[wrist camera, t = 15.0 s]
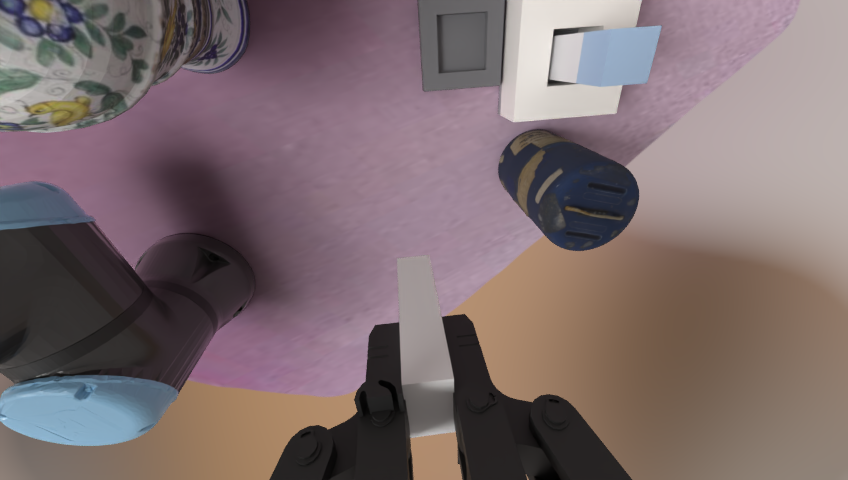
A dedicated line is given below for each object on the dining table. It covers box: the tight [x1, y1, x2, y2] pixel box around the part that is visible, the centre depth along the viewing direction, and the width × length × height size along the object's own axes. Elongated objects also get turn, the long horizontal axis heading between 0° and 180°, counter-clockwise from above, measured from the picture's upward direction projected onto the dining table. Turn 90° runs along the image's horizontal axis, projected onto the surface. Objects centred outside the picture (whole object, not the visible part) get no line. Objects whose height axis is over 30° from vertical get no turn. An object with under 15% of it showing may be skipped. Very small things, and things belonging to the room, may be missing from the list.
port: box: [498, 0, 642, 122], centre depth 36 cm, size 12×12×6 cm
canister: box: [498, 130, 639, 251], centre depth 37 cm, size 10×10×18 cm
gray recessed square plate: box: [418, 0, 505, 91], centre depth 36 cm, size 9×9×2 cm
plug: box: [548, 25, 662, 87], centre depth 31 cm, size 4×4×14 cm
